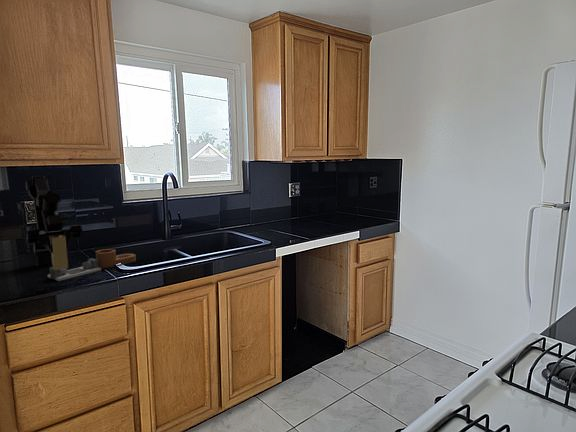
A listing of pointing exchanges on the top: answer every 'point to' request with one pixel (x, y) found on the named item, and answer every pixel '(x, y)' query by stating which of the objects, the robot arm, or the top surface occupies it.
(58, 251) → the gold tall square block
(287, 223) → the top surface
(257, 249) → the top surface
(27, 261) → the top surface
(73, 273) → the plate with raised blocks
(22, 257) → the top surface
